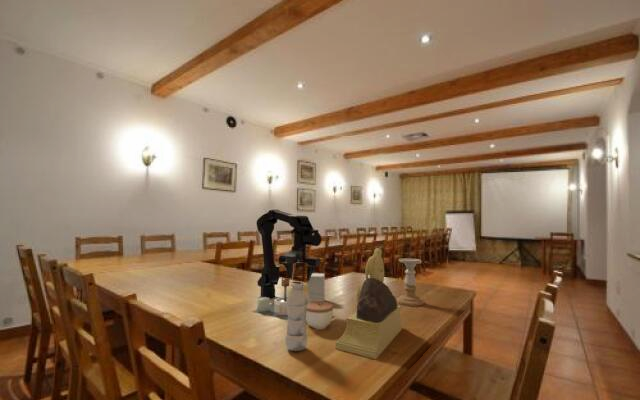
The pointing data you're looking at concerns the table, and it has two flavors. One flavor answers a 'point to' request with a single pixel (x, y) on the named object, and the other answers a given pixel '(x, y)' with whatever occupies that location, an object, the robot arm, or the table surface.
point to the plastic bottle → (296, 318)
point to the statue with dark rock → (372, 314)
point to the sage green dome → (263, 305)
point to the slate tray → (272, 313)
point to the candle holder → (410, 284)
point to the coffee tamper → (284, 283)
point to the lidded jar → (319, 314)
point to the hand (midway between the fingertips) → (298, 279)
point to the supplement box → (316, 287)
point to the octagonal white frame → (280, 307)
